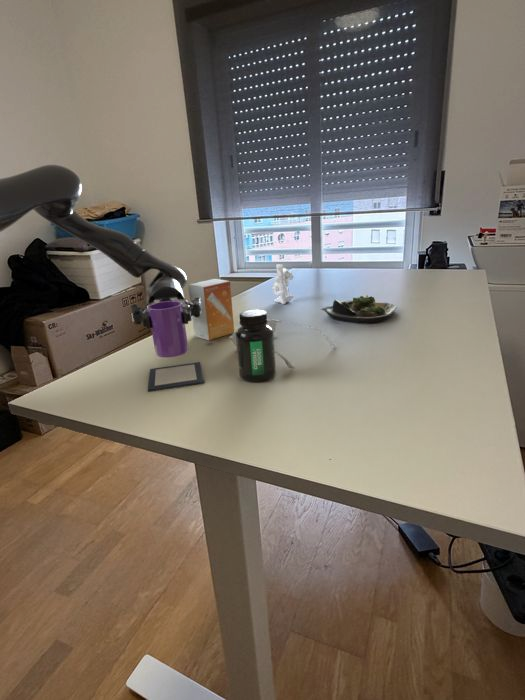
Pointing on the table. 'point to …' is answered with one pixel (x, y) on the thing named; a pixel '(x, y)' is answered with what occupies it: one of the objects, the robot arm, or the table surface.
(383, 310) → the salad plate
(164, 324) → the tumbler
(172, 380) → the tablet
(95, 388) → the table surface
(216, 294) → the small box
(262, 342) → the supplement bottle
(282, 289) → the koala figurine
